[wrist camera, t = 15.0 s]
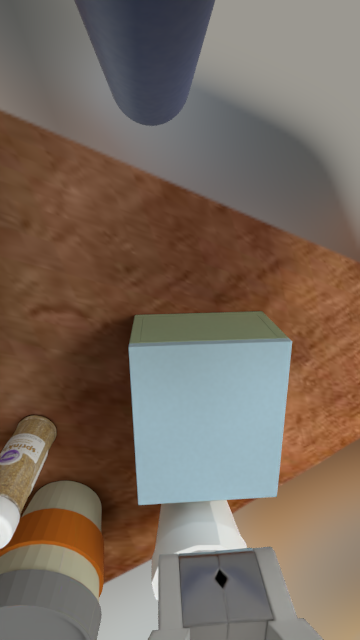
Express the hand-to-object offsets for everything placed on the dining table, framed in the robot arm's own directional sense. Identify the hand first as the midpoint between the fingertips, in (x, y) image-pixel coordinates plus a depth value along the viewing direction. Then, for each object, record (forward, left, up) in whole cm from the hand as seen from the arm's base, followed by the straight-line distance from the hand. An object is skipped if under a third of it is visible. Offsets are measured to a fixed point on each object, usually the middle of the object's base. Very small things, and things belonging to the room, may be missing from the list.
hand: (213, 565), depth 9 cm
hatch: (+10, +3, -21) cm, 23 cm away
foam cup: (+24, +2, -29) cm, 37 cm away
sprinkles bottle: (+16, -16, -29) cm, 37 cm away
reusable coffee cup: (+28, -14, -29) cm, 42 cm away
